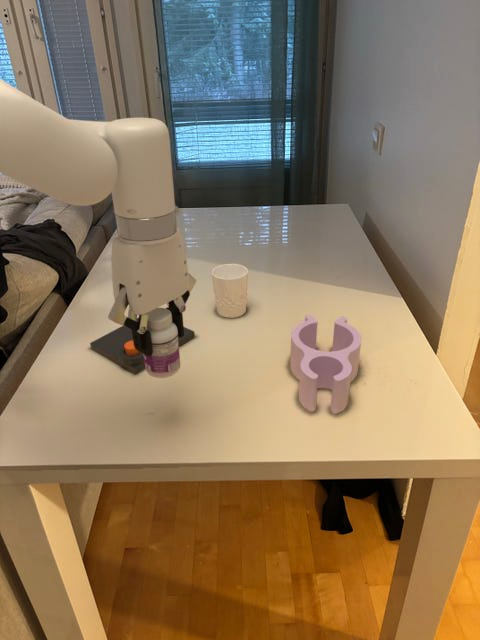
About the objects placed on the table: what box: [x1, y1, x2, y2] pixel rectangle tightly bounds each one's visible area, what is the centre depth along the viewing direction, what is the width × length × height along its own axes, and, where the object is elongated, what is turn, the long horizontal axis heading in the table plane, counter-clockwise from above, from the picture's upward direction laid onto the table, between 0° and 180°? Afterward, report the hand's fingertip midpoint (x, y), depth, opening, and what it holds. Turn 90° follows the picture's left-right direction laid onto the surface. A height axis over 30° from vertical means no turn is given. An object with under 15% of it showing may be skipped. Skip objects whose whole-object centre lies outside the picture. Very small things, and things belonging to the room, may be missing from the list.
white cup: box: [211, 263, 249, 319], centre depth 104 cm, size 8×8×10 cm
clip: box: [289, 314, 362, 415], centre depth 84 cm, size 20×12×7 cm, turn 171°
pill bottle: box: [143, 307, 181, 379], centre depth 68 cm, size 5×5×10 cm
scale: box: [89, 316, 196, 375], centre depth 95 cm, size 16×14×3 cm
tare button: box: [124, 341, 140, 355], centre depth 89 cm, size 3×3×2 cm
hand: (160, 341), depth 68 cm, fingers closed on pill bottle, 5 cm apart
